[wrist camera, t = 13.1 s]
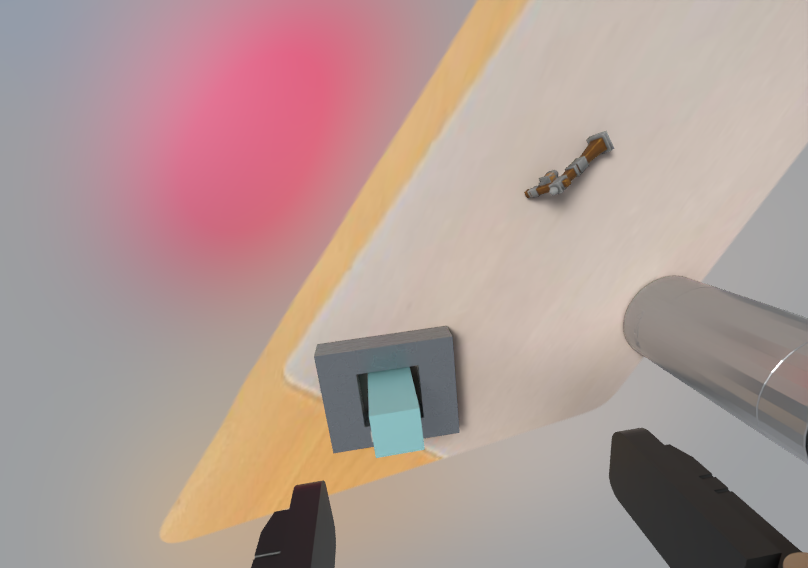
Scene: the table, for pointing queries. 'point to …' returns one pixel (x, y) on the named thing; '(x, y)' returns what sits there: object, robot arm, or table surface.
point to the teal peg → (394, 412)
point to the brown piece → (572, 167)
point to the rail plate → (377, 354)
